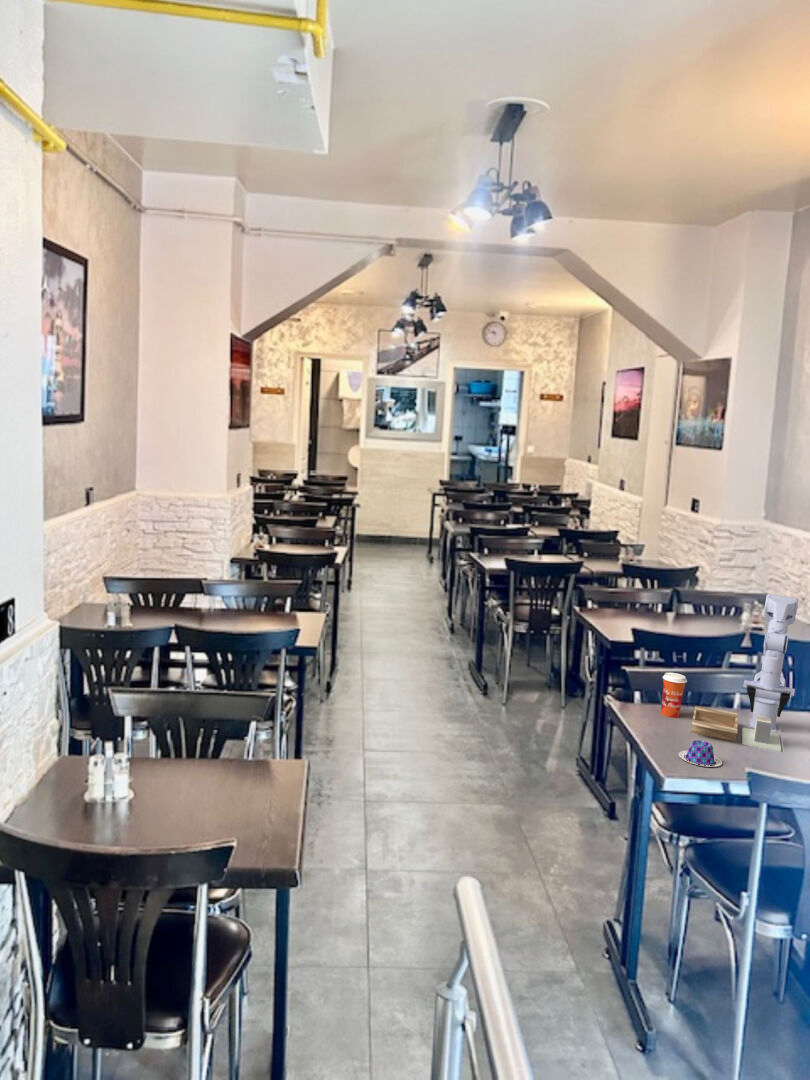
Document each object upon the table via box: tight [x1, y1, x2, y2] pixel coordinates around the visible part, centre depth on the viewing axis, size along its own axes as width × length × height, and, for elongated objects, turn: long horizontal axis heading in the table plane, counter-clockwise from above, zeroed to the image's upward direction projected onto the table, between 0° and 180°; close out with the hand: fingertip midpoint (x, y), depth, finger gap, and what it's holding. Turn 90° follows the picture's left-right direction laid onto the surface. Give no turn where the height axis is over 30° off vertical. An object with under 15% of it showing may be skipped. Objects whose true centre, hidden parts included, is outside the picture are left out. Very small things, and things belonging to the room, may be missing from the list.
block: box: [754, 716, 772, 744], centre depth 269 cm, size 8×4×6 cm, turn 159°
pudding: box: [678, 739, 723, 768], centre depth 249 cm, size 12×12×5 cm
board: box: [741, 727, 782, 753], centre depth 270 cm, size 16×11×1 cm
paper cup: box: [660, 672, 688, 719], centre depth 287 cm, size 8×8×14 cm
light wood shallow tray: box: [690, 705, 739, 742], centre depth 275 cm, size 21×13×4 cm, turn 159°
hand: (765, 713), depth 268 cm, fingers open, 7 cm apart
